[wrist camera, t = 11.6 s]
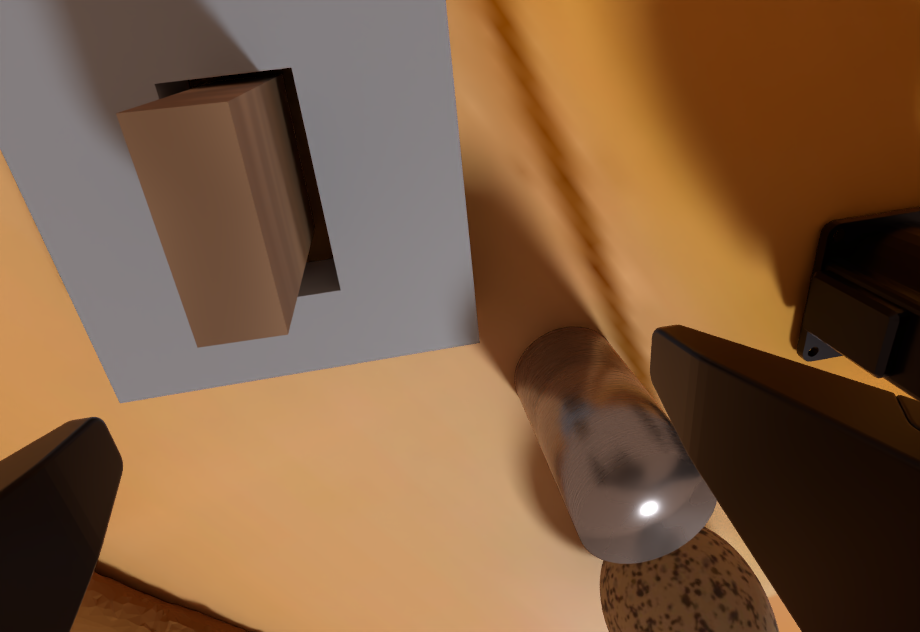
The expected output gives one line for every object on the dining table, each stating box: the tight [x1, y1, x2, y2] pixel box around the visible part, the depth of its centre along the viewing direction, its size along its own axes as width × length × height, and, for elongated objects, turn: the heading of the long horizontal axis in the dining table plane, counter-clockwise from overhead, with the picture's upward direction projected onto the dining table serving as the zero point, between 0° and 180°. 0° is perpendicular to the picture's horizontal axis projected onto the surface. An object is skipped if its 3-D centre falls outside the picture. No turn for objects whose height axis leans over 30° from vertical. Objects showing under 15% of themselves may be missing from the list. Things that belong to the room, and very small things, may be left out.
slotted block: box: [0, 0, 480, 403], centre depth 17 cm, size 12×12×3 cm
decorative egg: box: [600, 527, 779, 632], centre depth 25 cm, size 7×7×10 cm
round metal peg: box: [515, 327, 717, 564], centre depth 21 cm, size 4×4×8 cm
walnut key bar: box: [116, 74, 315, 348], centre depth 15 cm, size 2×5×8 cm, turn 4°
